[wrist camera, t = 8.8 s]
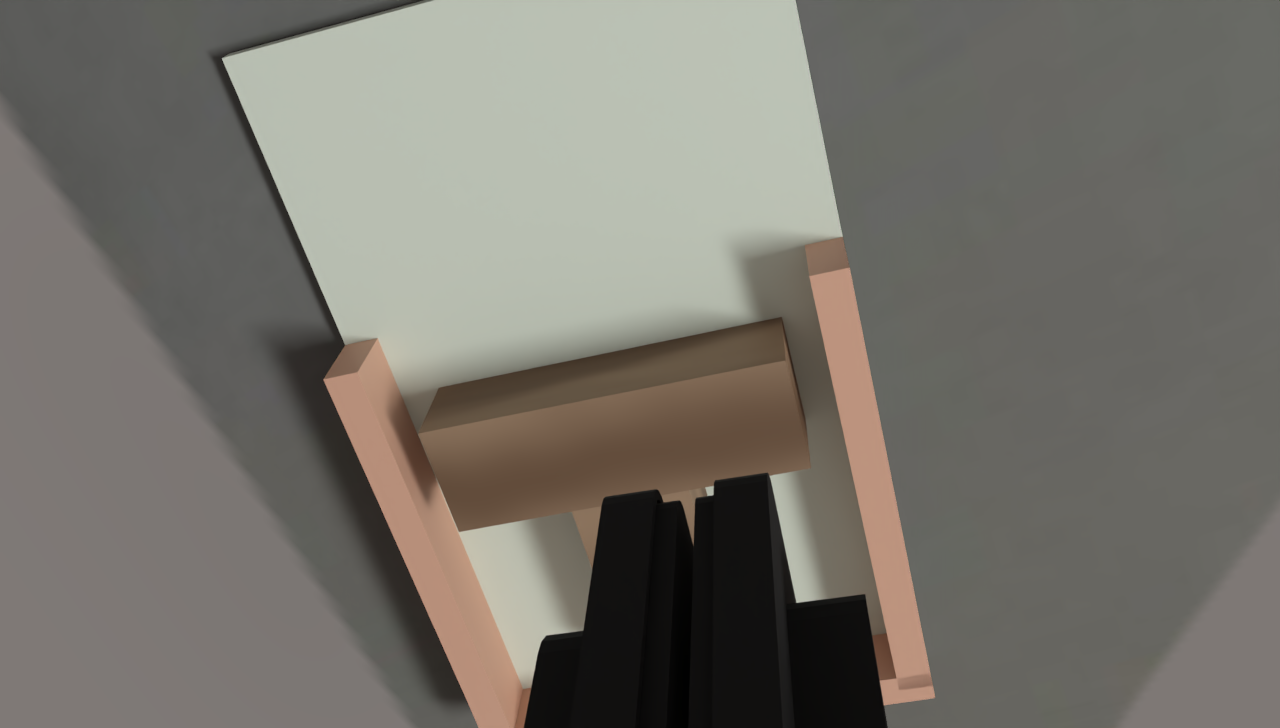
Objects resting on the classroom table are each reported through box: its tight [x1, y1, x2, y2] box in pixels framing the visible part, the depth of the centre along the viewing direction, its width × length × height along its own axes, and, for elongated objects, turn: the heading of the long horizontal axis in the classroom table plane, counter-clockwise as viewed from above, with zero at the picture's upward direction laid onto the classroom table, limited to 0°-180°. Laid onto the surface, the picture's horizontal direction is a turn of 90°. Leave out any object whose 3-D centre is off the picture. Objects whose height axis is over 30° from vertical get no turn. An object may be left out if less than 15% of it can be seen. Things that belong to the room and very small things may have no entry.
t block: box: [418, 317, 811, 568], centre depth 40 cm, size 12×12×3 cm
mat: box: [222, 0, 887, 689], centre depth 40 cm, size 28×17×1 cm, turn 15°
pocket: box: [323, 237, 935, 728], centre depth 40 cm, size 17×17×2 cm
